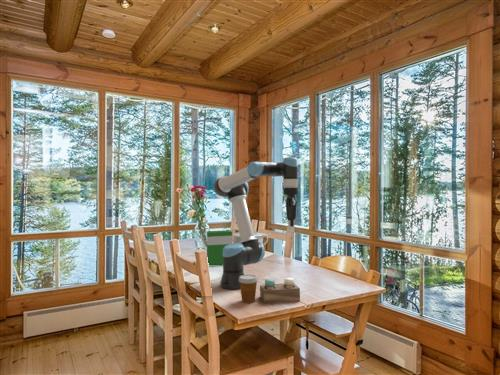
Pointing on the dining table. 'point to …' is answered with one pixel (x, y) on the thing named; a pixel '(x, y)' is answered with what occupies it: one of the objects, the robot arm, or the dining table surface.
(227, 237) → the hardback book
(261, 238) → the chamber pot
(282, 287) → the mount
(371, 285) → the dining table surface
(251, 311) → the dining table surface
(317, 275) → the dining table surface
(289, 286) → the knob
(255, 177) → the robot arm
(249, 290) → the disposable coffee cup
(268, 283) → the knob
